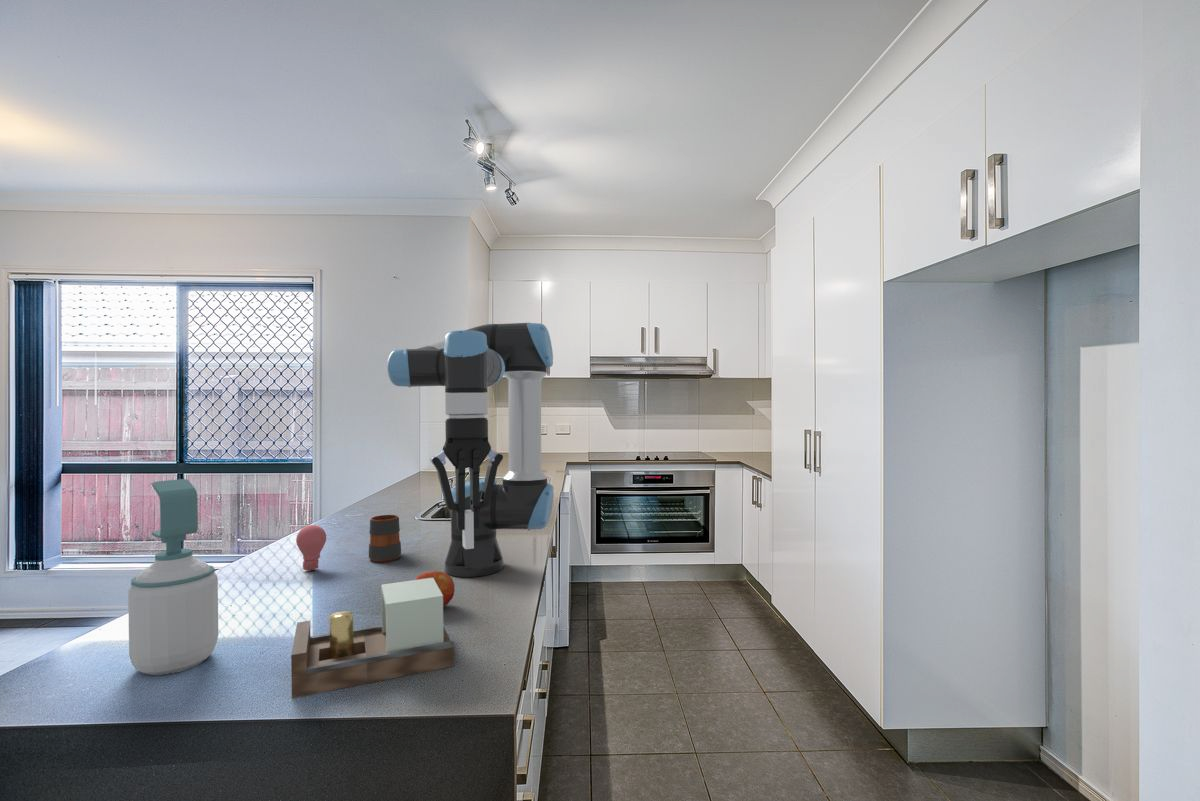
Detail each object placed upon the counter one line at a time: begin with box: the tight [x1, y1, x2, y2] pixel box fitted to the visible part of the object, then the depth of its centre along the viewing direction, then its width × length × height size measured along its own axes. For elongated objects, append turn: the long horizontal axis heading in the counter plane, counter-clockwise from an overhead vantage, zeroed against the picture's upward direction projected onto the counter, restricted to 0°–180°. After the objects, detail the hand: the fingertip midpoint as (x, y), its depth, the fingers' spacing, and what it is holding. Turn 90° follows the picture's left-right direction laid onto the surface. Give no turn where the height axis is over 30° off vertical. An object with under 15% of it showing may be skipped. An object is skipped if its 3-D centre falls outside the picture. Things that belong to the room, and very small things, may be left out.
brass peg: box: [329, 610, 354, 659], centre depth 95 cm, size 4×4×8 cm
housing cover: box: [380, 578, 444, 653], centre depth 100 cm, size 9×11×8 cm
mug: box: [368, 514, 402, 563], centre depth 164 cm, size 9×12×12 cm
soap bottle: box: [127, 478, 219, 676], centre depth 98 cm, size 12×12×31 cm
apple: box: [415, 570, 456, 608], centre depth 123 cm, size 8×8×8 cm
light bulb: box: [295, 524, 327, 572], centre depth 151 cm, size 7×7×12 cm
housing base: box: [290, 620, 455, 699], centre depth 97 cm, size 24×14×6 cm, turn 115°
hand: (468, 547), depth 104 cm, fingers closed
